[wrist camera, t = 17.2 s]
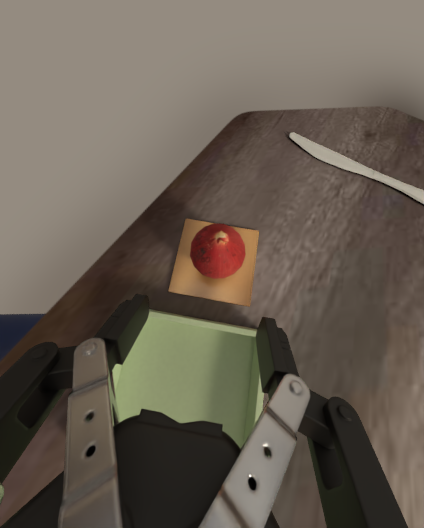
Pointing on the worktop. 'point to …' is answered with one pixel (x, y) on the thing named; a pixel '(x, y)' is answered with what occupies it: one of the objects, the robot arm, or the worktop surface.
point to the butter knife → (354, 166)
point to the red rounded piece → (217, 251)
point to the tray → (192, 373)
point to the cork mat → (205, 287)
